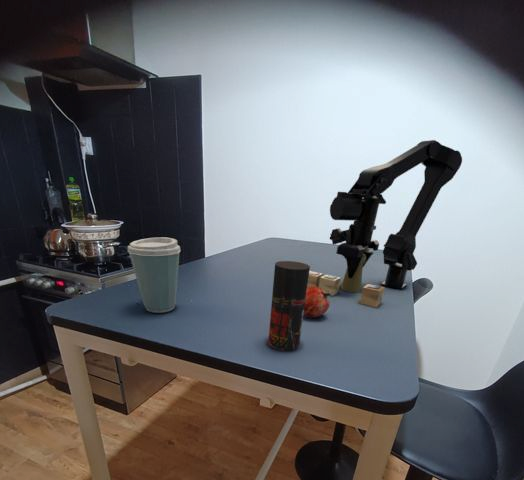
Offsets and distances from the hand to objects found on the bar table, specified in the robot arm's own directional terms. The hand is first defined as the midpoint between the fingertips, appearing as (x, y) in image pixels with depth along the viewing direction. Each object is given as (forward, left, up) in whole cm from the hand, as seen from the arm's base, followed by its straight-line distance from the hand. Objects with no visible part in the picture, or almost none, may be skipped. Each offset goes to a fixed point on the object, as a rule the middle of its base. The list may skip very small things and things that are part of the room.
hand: (353, 276), depth 95 cm
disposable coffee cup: (+50, -27, -4) cm, 57 cm away
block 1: (+9, -9, -4) cm, 13 cm away
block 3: (+9, +9, -4) cm, 13 cm away
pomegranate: (+29, +1, -4) cm, 29 cm away
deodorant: (+46, +4, -4) cm, 46 cm away
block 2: (+9, -3, -4) cm, 10 cm away
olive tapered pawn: (0, 0, -4) cm, 4 cm away
